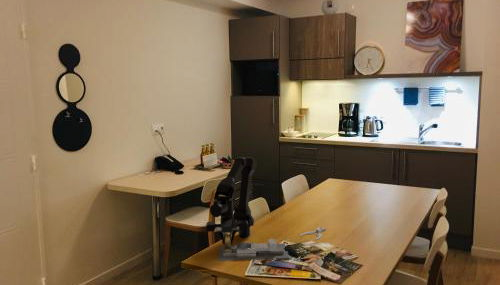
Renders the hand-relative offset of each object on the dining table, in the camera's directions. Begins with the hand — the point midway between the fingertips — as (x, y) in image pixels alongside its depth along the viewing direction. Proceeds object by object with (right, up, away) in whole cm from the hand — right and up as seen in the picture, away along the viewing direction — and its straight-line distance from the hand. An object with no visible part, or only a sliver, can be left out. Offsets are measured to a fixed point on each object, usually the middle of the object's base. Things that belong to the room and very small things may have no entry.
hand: (227, 244), depth 184 cm
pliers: (+42, 0, +19) cm, 46 cm away
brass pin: (0, -2, 0) cm, 2 cm away
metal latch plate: (+13, -1, -6) cm, 14 cm away
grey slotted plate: (+11, -3, -6) cm, 13 cm away
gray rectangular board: (+11, -3, -4) cm, 12 cm away
